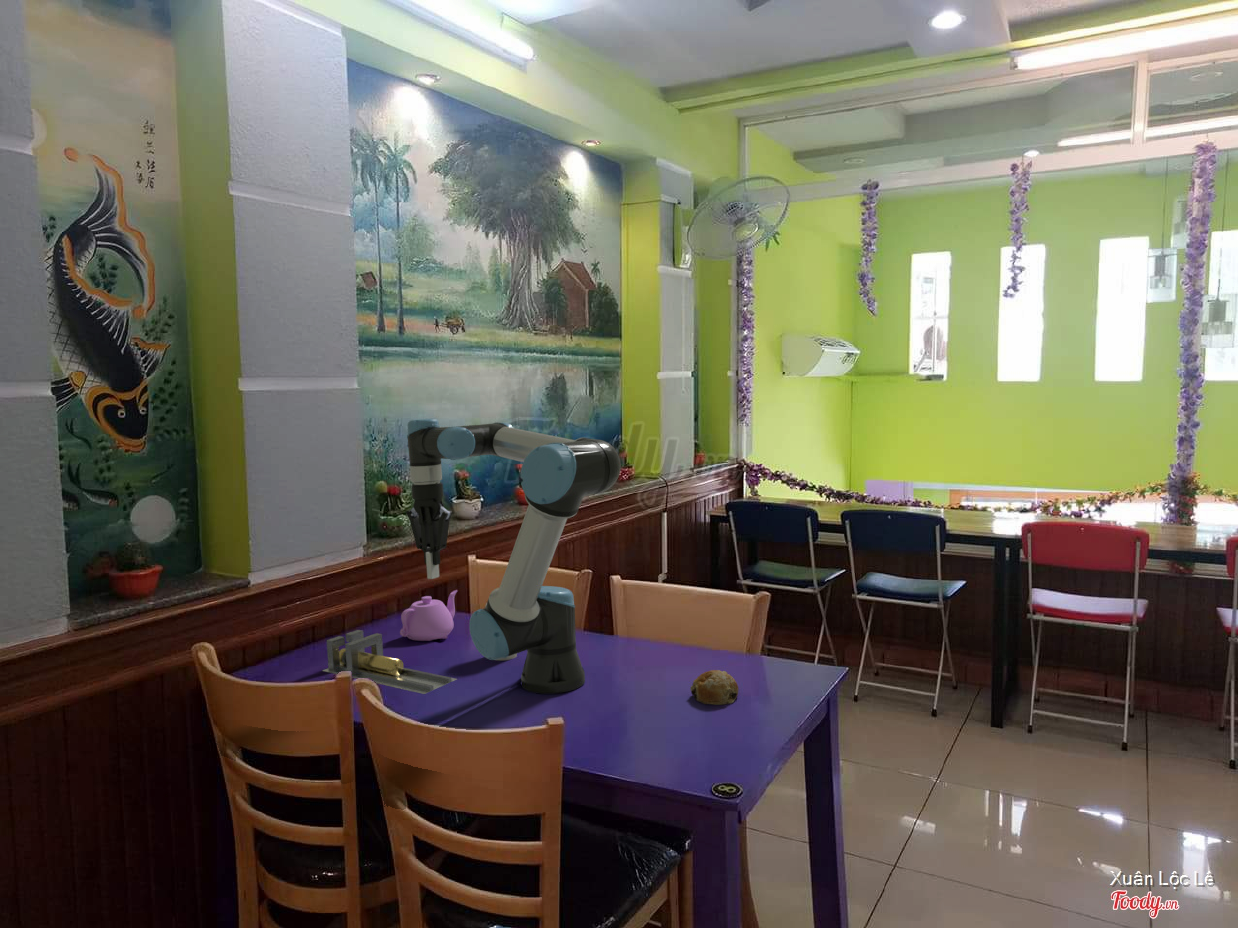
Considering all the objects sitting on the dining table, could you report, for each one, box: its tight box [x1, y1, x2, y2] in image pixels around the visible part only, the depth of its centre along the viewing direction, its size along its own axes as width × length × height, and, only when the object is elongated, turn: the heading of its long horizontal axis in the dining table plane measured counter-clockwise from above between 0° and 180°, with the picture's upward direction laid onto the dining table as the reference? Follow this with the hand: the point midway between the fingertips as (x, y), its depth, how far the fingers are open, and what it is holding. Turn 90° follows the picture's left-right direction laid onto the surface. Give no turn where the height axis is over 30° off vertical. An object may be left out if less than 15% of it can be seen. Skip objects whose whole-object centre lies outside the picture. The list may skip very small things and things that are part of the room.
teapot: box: [399, 589, 458, 642], centre depth 245 cm, size 20×14×12 cm
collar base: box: [321, 629, 458, 695], centre depth 212 cm, size 36×11×9 cm, turn 57°
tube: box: [339, 647, 405, 676], centre depth 217 cm, size 20×4×4 cm, turn 57°
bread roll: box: [690, 669, 740, 706], centre depth 191 cm, size 10×10×8 cm
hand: (433, 577), depth 211 cm, fingers closed
